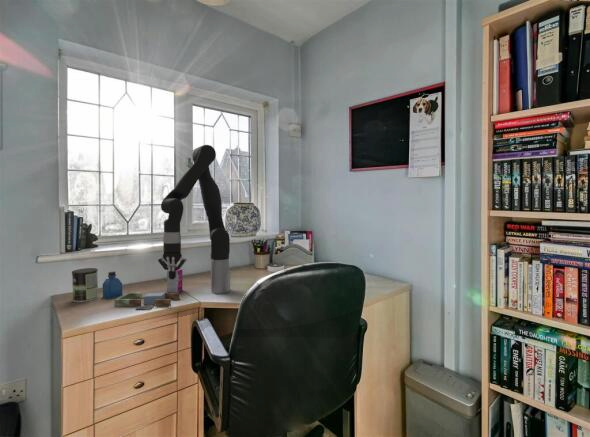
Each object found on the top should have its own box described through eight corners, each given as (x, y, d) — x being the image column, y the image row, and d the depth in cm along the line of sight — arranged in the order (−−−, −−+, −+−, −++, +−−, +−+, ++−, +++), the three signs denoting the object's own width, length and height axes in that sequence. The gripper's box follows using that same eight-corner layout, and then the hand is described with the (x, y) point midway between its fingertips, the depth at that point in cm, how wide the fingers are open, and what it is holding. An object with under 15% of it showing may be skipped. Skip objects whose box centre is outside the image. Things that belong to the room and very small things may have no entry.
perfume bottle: (109, 298, 149) (108, 274, 149) (103, 296, 153) (102, 272, 152) (122, 295, 155) (121, 271, 154) (115, 293, 158) (115, 270, 157)
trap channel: (183, 296, 153) (183, 290, 153) (165, 310, 133) (165, 303, 133) (133, 295, 153) (133, 290, 153) (108, 309, 133) (108, 303, 133)
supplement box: (176, 293, 158) (176, 271, 157) (166, 292, 159) (165, 270, 158) (183, 290, 163) (182, 268, 163) (173, 289, 164) (172, 268, 164)
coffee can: (72, 303, 142) (71, 273, 141) (72, 298, 150) (71, 269, 149) (99, 299, 148) (98, 270, 147) (97, 294, 156) (96, 267, 155)
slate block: (165, 300, 146) (165, 292, 146) (162, 304, 141) (161, 295, 141) (147, 301, 145) (147, 293, 145) (143, 305, 140) (143, 296, 140)
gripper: (189, 241, 145) (189, 277, 146) (161, 240, 146) (162, 276, 146) (183, 243, 138) (183, 281, 138) (154, 242, 138) (154, 280, 139)
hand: (172, 278), depth 142 cm, fingers closed
